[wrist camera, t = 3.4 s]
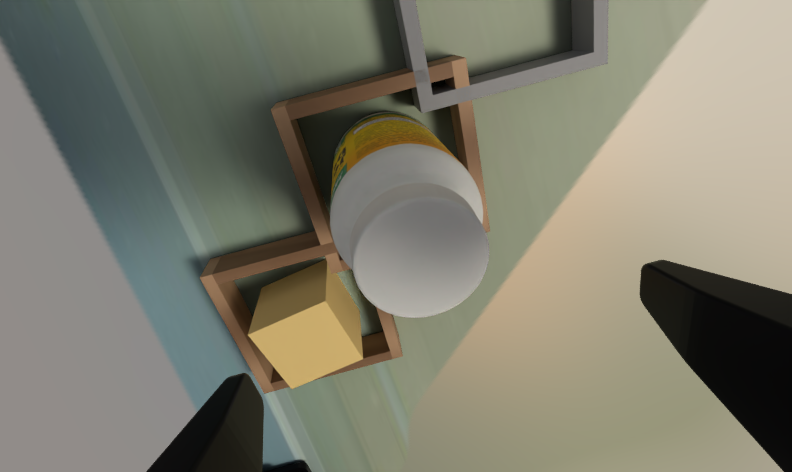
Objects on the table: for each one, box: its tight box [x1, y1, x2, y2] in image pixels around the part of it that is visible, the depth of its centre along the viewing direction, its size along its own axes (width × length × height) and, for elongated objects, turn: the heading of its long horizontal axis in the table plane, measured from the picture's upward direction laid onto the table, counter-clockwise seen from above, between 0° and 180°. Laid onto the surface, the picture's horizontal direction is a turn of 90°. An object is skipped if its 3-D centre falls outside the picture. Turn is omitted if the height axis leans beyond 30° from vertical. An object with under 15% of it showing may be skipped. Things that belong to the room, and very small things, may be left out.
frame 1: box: [271, 55, 490, 274], centre depth 19 cm, size 8×8×2 cm
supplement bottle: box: [330, 112, 489, 318], centre depth 16 cm, size 5×5×10 cm
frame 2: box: [200, 231, 403, 393], centre depth 22 cm, size 8×8×2 cm
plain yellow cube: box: [248, 259, 363, 389], centre depth 21 cm, size 4×4×4 cm
